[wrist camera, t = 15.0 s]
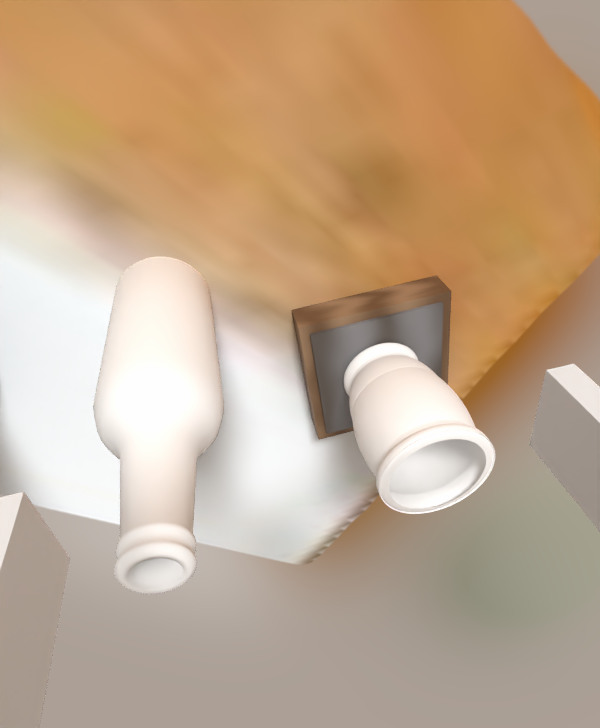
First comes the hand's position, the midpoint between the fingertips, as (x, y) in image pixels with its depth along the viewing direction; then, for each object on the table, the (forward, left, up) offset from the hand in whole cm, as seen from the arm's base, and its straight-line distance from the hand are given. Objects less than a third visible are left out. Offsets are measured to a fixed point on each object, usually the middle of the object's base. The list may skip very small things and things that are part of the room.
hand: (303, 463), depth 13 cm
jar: (+12, -26, -33) cm, 43 cm away
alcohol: (-8, -13, -37) cm, 40 cm away
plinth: (+12, -26, -37) cm, 46 cm away
